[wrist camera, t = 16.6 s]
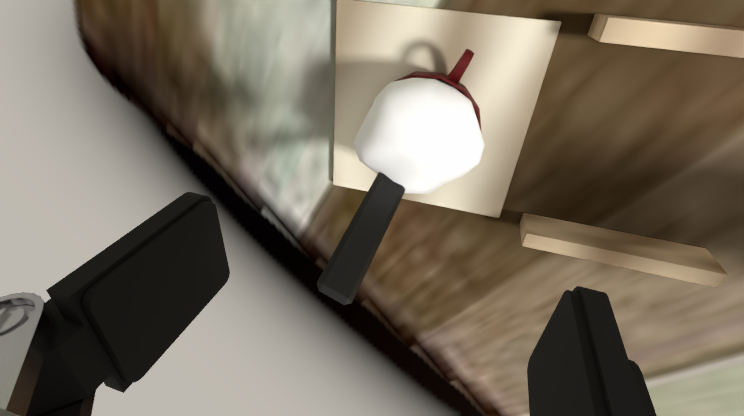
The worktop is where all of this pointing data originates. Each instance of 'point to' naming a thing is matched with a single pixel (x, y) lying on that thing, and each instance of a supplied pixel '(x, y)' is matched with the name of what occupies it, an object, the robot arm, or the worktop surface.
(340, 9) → the pad
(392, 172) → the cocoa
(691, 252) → the holder
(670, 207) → the worktop surface
